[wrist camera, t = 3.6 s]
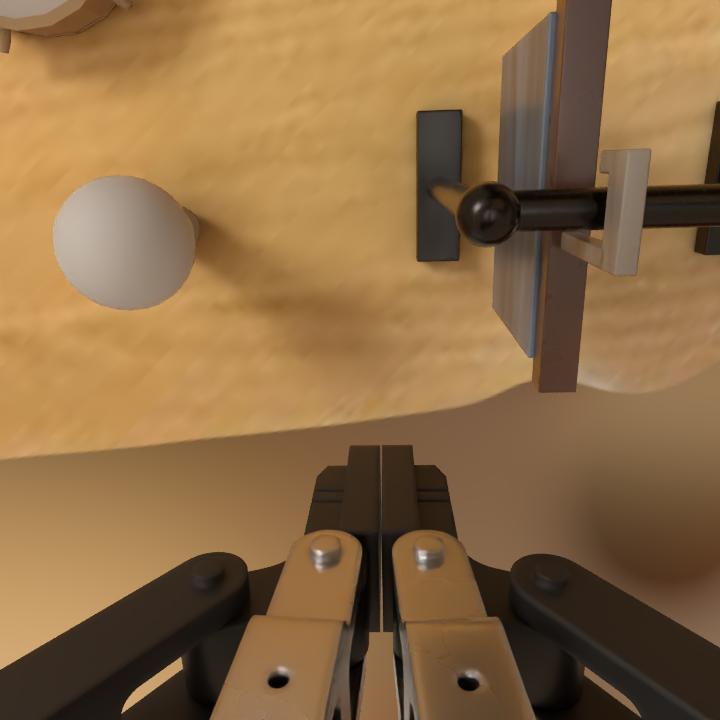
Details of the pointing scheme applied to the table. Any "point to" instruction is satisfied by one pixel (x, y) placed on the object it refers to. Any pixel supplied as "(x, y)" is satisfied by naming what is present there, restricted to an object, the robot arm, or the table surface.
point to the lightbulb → (125, 242)
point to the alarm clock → (52, 17)
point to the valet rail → (535, 199)
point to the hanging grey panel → (561, 185)
